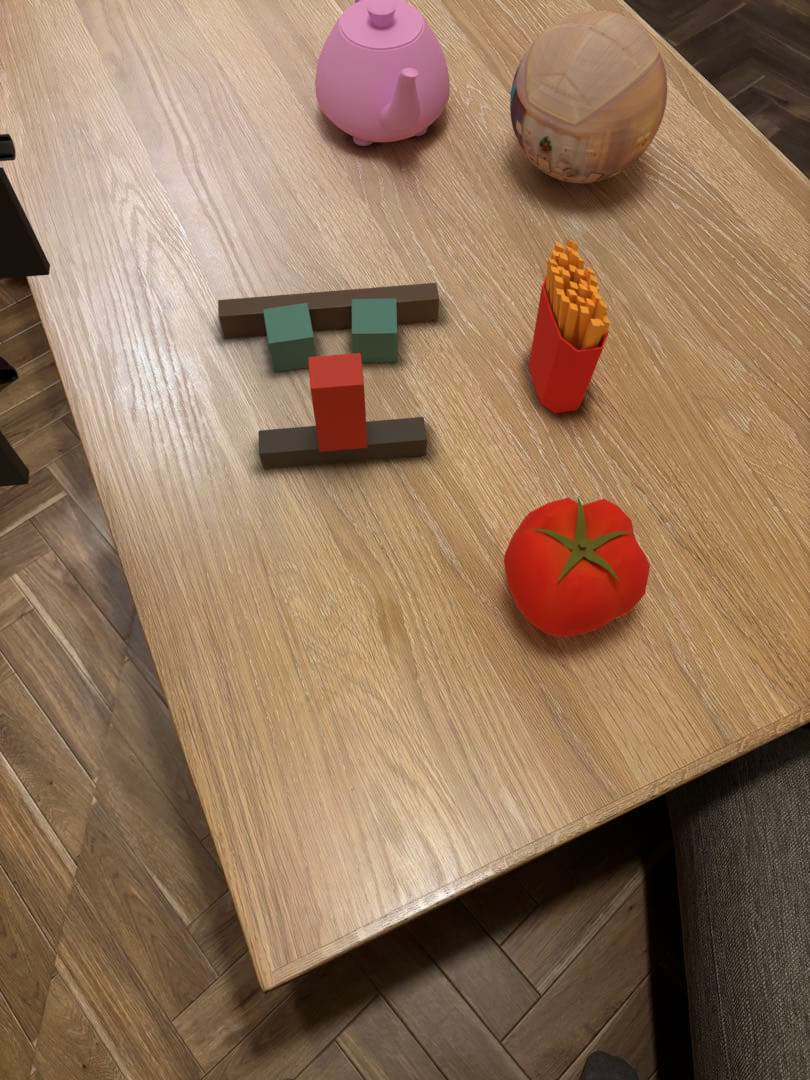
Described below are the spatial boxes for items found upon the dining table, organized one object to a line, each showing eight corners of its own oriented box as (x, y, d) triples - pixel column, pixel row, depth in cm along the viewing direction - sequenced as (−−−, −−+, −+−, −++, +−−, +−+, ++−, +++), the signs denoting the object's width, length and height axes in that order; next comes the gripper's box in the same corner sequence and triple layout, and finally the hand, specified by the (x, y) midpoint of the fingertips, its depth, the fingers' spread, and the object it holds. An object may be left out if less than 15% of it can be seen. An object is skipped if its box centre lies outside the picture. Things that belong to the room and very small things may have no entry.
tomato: (480, 624, 67) (490, 577, 60) (528, 511, 72) (544, 455, 64) (609, 677, 65) (638, 636, 58) (650, 558, 70) (682, 505, 62)
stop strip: (438, 321, 81) (439, 298, 79) (224, 338, 80) (218, 316, 77) (435, 305, 82) (436, 282, 79) (223, 322, 81) (217, 299, 78)
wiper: (426, 458, 74) (430, 378, 64) (263, 472, 74) (242, 394, 64) (422, 429, 76) (426, 347, 66) (262, 443, 75) (241, 361, 65)
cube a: (317, 366, 79) (314, 336, 75) (274, 372, 78) (268, 343, 75) (311, 332, 81) (307, 302, 77) (268, 338, 80) (262, 308, 77)
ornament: (614, 107, 95) (649, -35, 82) (666, 201, 89) (714, 63, 75) (484, 130, 93) (498, -12, 80) (528, 227, 87) (552, 90, 74)
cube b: (397, 362, 79) (397, 332, 75) (353, 363, 79) (351, 333, 75) (396, 328, 81) (396, 298, 77) (353, 328, 81) (351, 298, 77)
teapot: (475, 171, 91) (486, 61, 80) (344, 196, 89) (336, 87, 78) (421, 54, 99) (424, -60, 88) (301, 75, 97) (289, -39, 87)
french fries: (592, 416, 76) (626, 316, 65) (545, 424, 76) (571, 324, 64) (563, 337, 80) (591, 228, 69) (519, 343, 80) (539, 235, 68)
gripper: (-226, 209, 21) (71, 578, 40) (-79, -270, 32) (98, 195, 51) (-557, 233, 20) (-97, 594, 39) (-290, -262, 32) (-33, 204, 50)
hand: (14, 369), depth 45 cm, fingers open, 13 cm apart
